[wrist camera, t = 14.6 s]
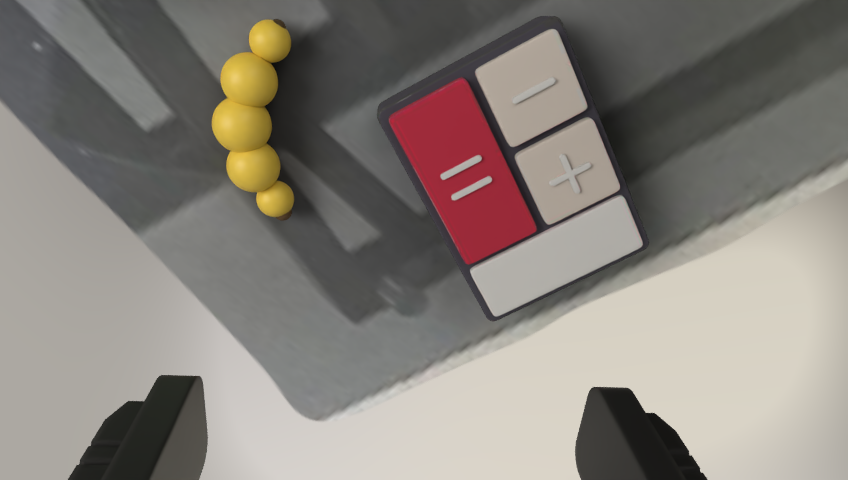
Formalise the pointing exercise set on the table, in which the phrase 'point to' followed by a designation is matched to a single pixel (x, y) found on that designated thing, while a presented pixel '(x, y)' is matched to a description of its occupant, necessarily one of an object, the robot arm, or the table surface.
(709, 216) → the table surface
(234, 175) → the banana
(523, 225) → the calculator
